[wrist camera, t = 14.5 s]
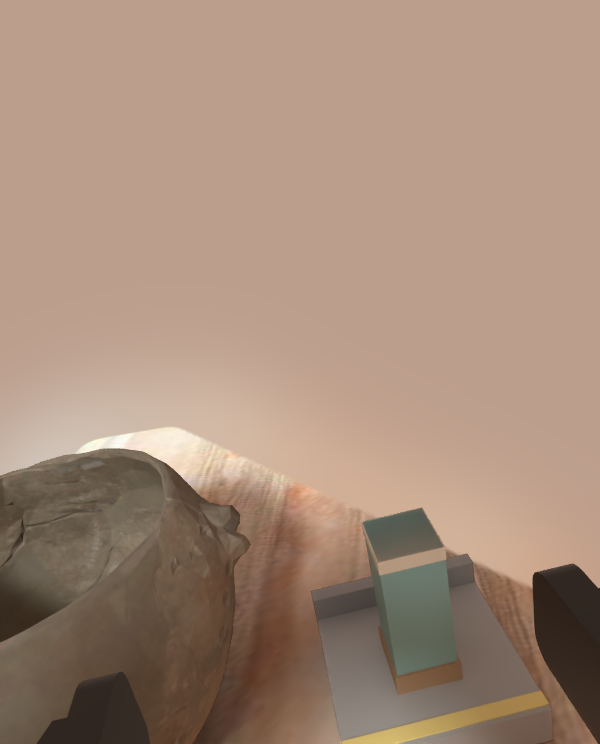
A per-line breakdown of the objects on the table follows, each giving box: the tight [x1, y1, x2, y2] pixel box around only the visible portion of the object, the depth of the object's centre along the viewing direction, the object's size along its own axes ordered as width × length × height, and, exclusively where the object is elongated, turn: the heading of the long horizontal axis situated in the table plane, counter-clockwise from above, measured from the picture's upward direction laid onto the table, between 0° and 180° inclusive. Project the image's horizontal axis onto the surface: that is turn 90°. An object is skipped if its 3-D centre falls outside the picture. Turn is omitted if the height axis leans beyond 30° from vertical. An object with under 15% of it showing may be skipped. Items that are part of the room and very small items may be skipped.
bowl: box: [0, 449, 251, 744], centre depth 40 cm, size 27×29×20 cm
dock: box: [311, 554, 553, 744], centre depth 41 cm, size 14×13×5 cm
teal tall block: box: [362, 508, 463, 695], centre depth 39 cm, size 5×5×12 cm
